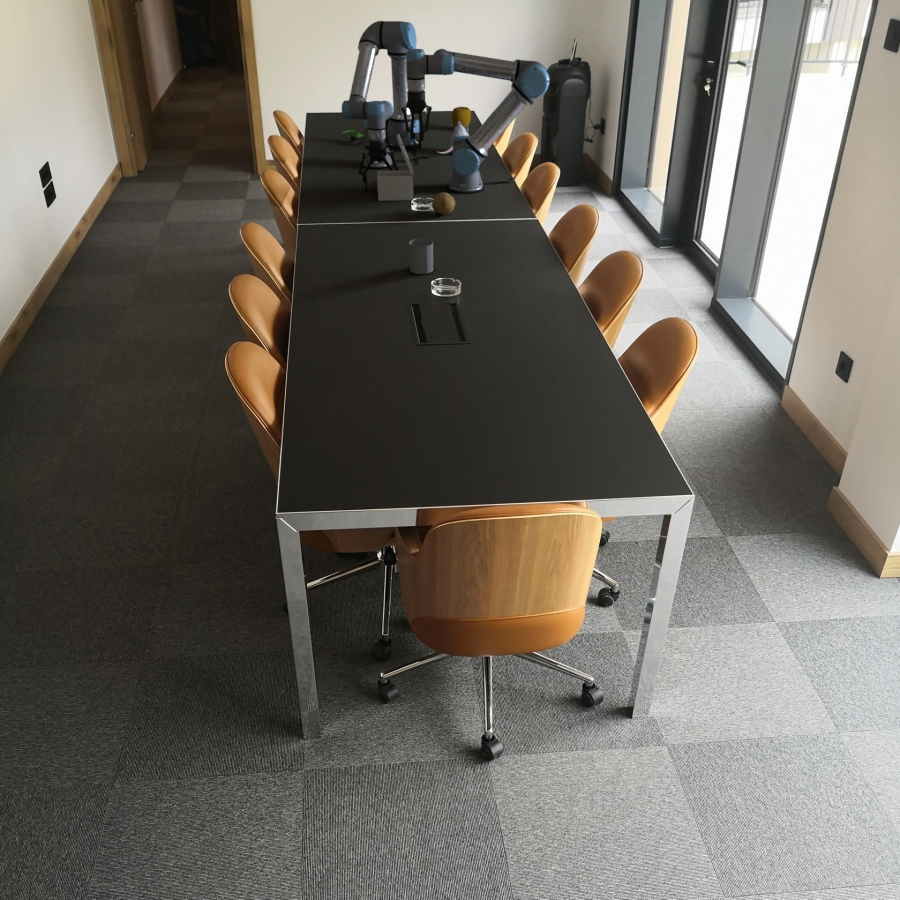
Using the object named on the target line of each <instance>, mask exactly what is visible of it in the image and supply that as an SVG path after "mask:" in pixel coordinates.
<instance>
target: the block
mask: <svg viewBox="0 0 900 900" xmlns="http://www.w3.org/2000/svg"><path fill="white" fill-rule="evenodd" d="M372 187H373V190H374V191H375V192H376V193H378V181H377V179H374V180H372Z"/></svg>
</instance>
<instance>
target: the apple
mask: <svg viewBox="0 0 900 900" xmlns="http://www.w3.org/2000/svg"><path fill="white" fill-rule="evenodd" d="M451 121H452V125H453V129H455V127H456V126H457V124H458V121H459V122H460V123H461V124H462V126H463V127H466V128H467V124H468V127H469V126H470V124H471V121H472V111H471V108H469V107H467V106H462V105H461V106H457V107H454V108H452V111H451Z"/></svg>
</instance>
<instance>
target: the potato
mask: <svg viewBox="0 0 900 900" xmlns="http://www.w3.org/2000/svg"><path fill="white" fill-rule="evenodd" d="M455 206H456V200H455V198H454V196H452V195H451V194H449V193H448V192H439V193H437V194H436V195H435V197H434V198H433V200H432V201H431V207H432V209H433V210H434V212H436V213H437V214H439V215H441V216H442V215H449V214H450V213H452V212H453V211H454V209H455Z"/></svg>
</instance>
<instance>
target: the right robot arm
mask: <svg viewBox="0 0 900 900" xmlns="http://www.w3.org/2000/svg"><path fill="white" fill-rule="evenodd" d="M406 71H407V89H408V91H407V103H406V105H405V106H404V107H401V110H402V112H403V115H404V121H405V127H406V131H407V132H410V139H411V140H412V139H414V138H415V132H413V128H414V115H418V118H419V119H418V121H419V130H420V131H419V138H420V139H419V140H418V148H419V150H422V142H424V140H425V135H424V134H425V133H426V132H428V131H429V126H430V125H429V124H430V116H431V112H432V111H433V108H432V106H431V105H428V104H427V102H426V90H425V89H426V75H427V76H430V75H431V76H432V75H433V76H451V75H453V74H454V73H461V74H467V75H472V76H479V77H485V78H491V79H497V80H504V81H509V82H511V85H510V88H511V89H510V91H509V93H508V94H507V95H506V96H505V97H504V98H503V100H502V101H501V102H500V103H499V104H498V105H497V107H496V108H495V109H493V111H492V112H491V114H490V115H489V116H488V117H487V118H486V119H485V121H484V122H483V123H482V124H481V125H480V126H479V128H478V129H477V130H476V131H475V133H474V134H473V135H469V136H455V137H454V139H453V153H452V156H451V165H452V173H451V177H450V179H449V180H450V181H449V184H448V189H449V190H450V191H451V192H454V193H458V194H473V193H478V192H481V191H482V190H483V187H484V185H483V184H509V183H513V182H514V181H515V180H516V179H517V177H516V176H515V175H514V176H513V178H512V179H510V180H487V181H483V180H482V177H481V173H480V165H481V164H482V162H483V161H484V160H485V159H486V158H487V157H488V154H489V153H488V151H489V149H490V148H491V147H492V146H493V144H494V143H495V142H496V141H497V140H498V139H499V138H500V136H501V135H502V134H503V133H504V132H505V131H506V129H507V128H508V127H509V126H510V125H511V124H512V123H513V121H514V120H515V119H516V118H517V117H518V116H519V115H520V114H521V112H522V111H523V110H524V109H525V108H526V107H528V106H532V105H533V104H534V103H535V102H536V101H537V100H538V99H539V98H541V97H543V96H544V95H545V94H546V93H547V90H548V89H549V86H550V75H549V73H548V70H547V68H546V66H545V65H544V64H543V63H541V62H540V61H537V60H526V59H525V60H524V59H515V60H506V59H499V58H493V57H489V56H488V57H487V56H482V55H476V54H468V53H463V52H456V51H450V50H447V49H445V48H438V49H437V50H435V51H434V52H433V54H426V53H425V50H424V49H423V48H416V49H409V50H408V51H407V52H406ZM407 108H408V109H409V111H410V112H411V127H410V128H409V127H408V121H407V115H406V111H407ZM424 110H425V111H426V116H425V123H424V121H423V112H424ZM424 124H425V125H424ZM412 148H413V150H416V143H415V140H414V141H413V145H412Z"/></svg>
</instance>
